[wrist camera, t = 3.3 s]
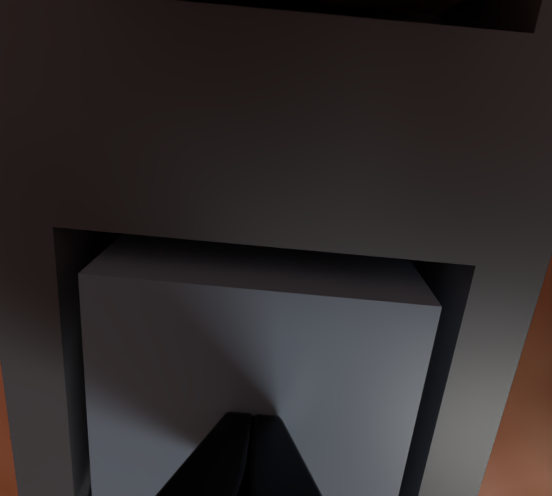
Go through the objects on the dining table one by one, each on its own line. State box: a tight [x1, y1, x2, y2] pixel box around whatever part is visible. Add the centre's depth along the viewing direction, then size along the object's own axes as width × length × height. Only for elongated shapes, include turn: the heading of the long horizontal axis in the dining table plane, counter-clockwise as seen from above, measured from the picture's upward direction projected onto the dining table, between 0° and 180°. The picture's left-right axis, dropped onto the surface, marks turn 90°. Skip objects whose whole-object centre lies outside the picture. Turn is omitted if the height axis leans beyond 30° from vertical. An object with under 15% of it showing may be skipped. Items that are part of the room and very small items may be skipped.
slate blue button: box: [78, 234, 442, 496], centre depth 9 cm, size 5×5×4 cm
